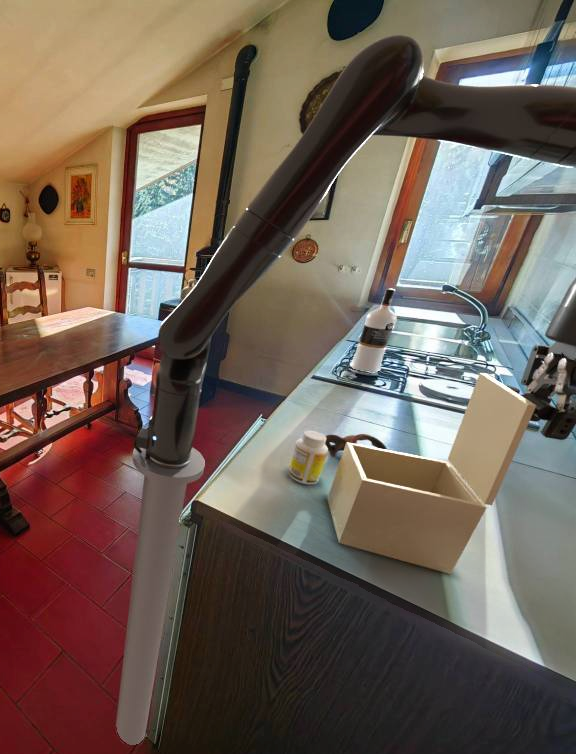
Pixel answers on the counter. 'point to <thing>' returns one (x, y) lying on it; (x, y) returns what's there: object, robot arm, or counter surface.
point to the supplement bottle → (308, 458)
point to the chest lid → (492, 434)
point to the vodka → (375, 337)
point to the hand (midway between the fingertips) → (539, 427)
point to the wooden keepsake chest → (403, 506)
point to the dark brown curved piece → (341, 442)
